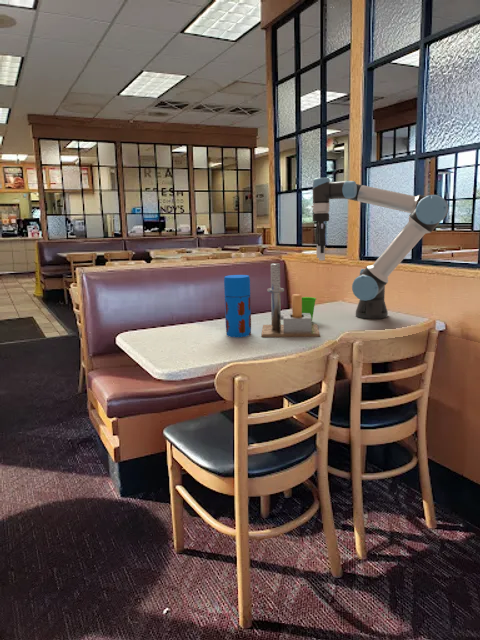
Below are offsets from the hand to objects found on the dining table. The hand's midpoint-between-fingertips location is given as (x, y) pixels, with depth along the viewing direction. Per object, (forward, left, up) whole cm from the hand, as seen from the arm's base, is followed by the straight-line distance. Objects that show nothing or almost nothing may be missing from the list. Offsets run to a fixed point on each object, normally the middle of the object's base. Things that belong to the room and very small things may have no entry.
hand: (320, 259), depth 229 cm
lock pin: (+12, +27, -28) cm, 40 cm away
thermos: (+37, +30, -29) cm, 56 cm away
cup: (+7, +6, -29) cm, 30 cm away
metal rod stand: (+15, +26, -29) cm, 42 cm away
